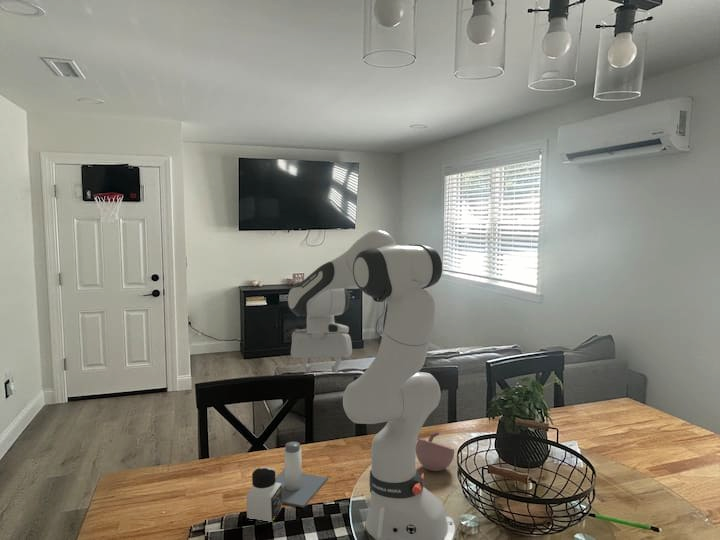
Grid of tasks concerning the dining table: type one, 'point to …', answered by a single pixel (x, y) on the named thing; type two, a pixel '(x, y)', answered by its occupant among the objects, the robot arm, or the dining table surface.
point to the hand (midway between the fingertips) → (321, 372)
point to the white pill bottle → (292, 466)
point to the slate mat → (301, 489)
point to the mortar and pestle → (434, 454)
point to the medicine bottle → (264, 495)
